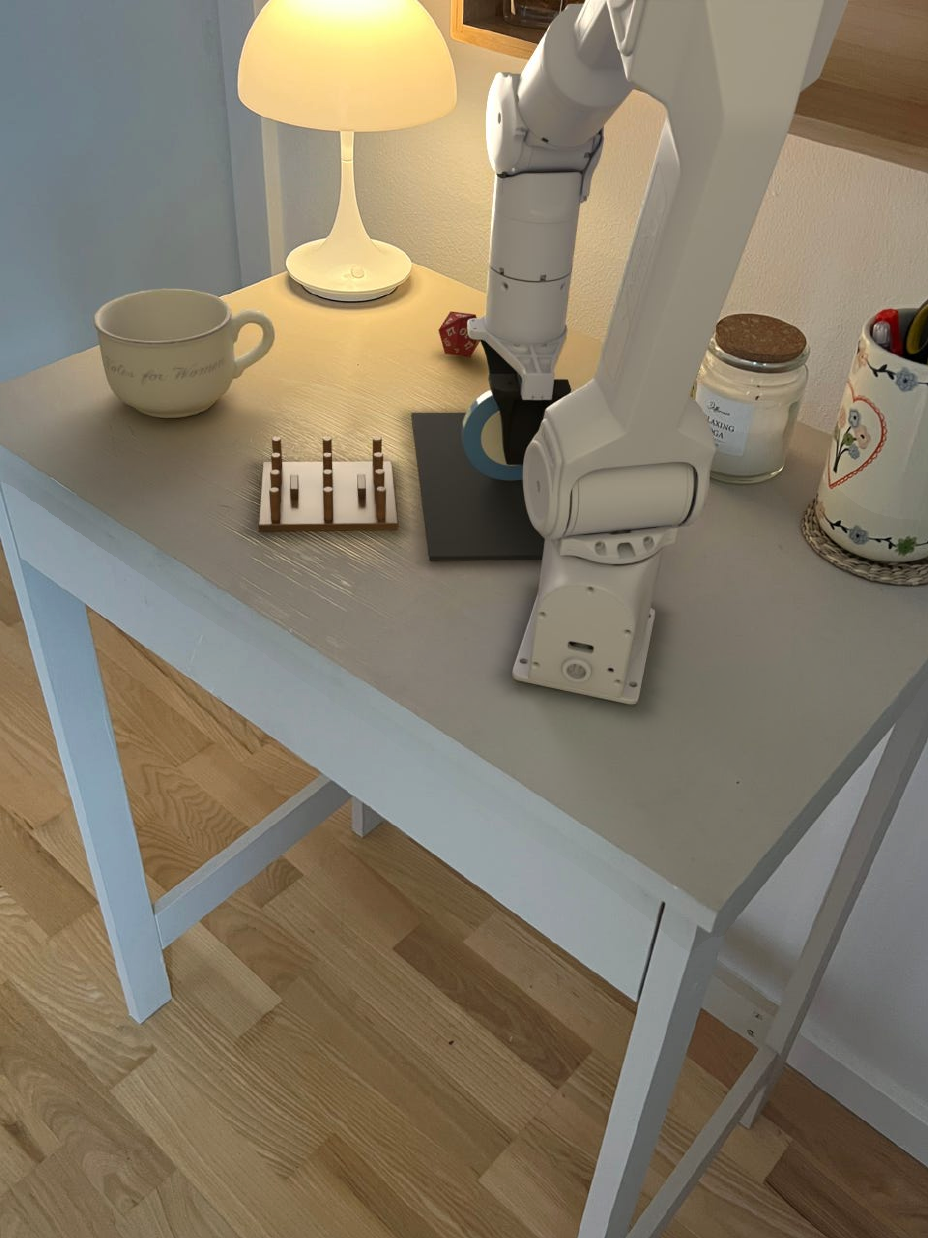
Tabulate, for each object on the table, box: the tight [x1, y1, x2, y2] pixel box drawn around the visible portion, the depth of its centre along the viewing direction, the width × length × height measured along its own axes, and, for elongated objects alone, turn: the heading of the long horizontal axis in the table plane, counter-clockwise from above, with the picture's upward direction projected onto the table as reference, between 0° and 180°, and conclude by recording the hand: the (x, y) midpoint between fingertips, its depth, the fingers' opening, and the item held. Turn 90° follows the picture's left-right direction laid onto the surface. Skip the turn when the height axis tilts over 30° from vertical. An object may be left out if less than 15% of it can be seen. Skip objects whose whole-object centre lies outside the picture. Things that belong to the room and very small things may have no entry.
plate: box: [461, 389, 523, 481], centre depth 86 cm, size 1×8×8 cm, turn 96°
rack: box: [258, 436, 399, 532], centre depth 84 cm, size 8×10×3 cm
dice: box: [438, 311, 481, 358], centre depth 103 cm, size 4×4×4 cm
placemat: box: [410, 412, 545, 562], centre depth 88 cm, size 20×14×1 cm
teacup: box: [93, 288, 276, 419], centre depth 93 cm, size 14×11×8 cm
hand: (513, 437), depth 86 cm, fingers open, 6 cm apart
